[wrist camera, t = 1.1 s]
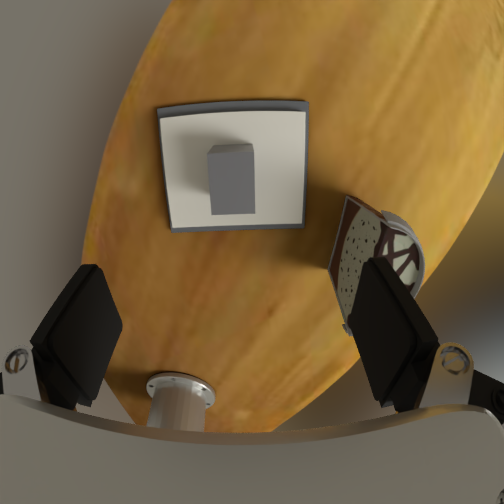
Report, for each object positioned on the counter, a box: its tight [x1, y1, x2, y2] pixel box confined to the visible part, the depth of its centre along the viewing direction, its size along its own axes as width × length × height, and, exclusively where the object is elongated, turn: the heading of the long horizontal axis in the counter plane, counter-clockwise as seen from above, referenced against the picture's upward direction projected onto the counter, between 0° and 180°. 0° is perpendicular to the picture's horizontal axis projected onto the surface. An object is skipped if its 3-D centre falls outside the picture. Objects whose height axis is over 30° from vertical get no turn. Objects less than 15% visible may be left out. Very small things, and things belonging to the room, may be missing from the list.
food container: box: [328, 195, 425, 336], centre depth 26 cm, size 12×6×10 cm, turn 174°
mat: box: [157, 101, 309, 233], centre depth 26 cm, size 13×14×1 cm
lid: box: [160, 111, 306, 228], centre depth 23 cm, size 11×13×6 cm
